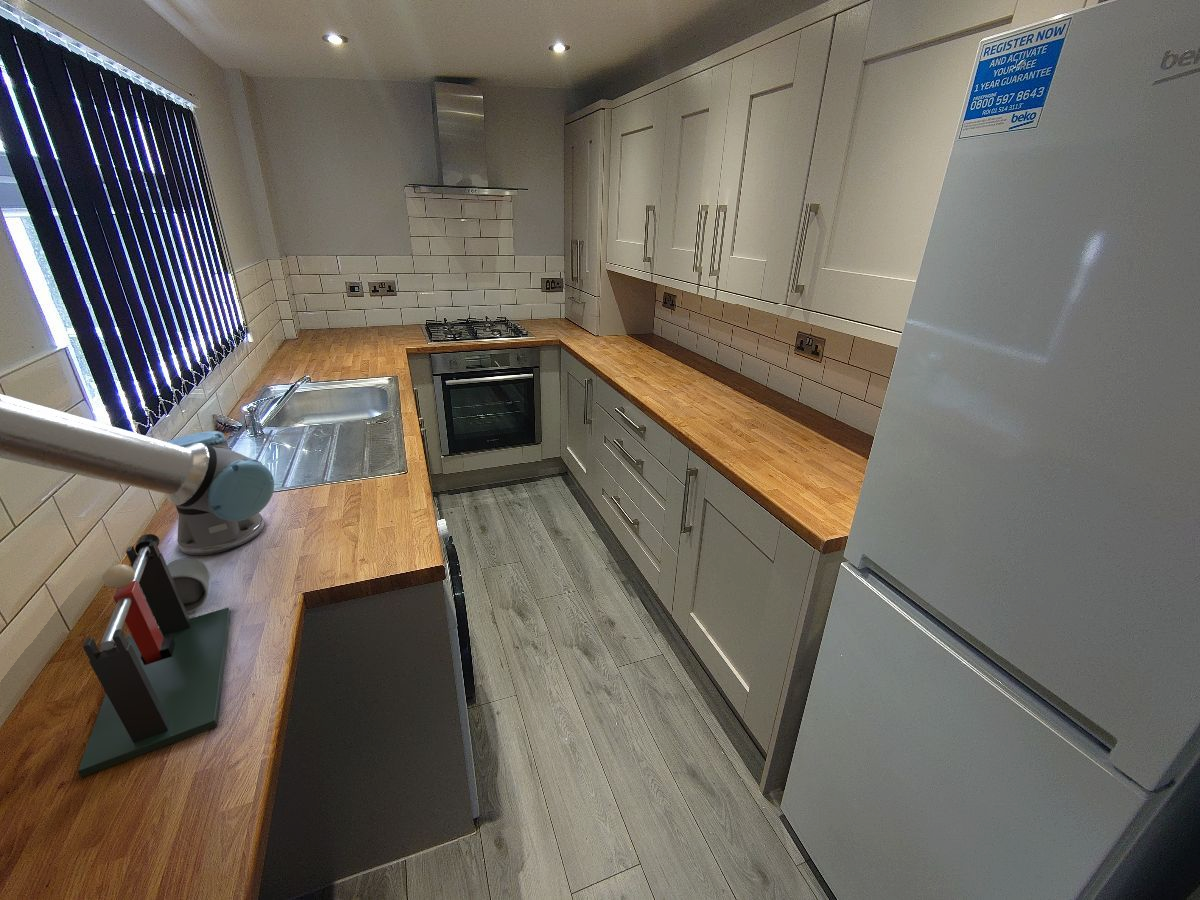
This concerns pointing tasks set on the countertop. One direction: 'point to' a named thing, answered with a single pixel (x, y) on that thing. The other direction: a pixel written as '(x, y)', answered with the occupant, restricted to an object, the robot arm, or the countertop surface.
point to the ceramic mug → (190, 582)
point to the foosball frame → (157, 677)
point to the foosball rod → (135, 607)
